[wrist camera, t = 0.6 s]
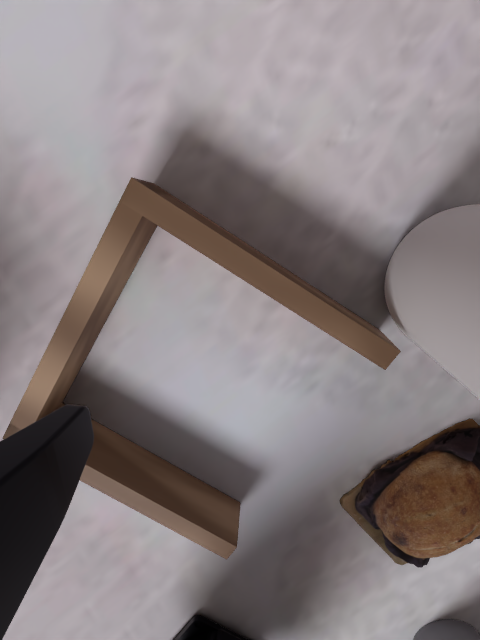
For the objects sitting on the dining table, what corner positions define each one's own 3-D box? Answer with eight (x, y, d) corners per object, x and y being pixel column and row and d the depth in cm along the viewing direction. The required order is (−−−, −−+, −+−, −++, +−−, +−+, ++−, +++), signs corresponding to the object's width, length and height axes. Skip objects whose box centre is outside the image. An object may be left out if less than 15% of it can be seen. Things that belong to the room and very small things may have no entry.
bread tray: (231, 514, 26) (226, 559, 22) (38, 407, 24) (2, 438, 21) (378, 329, 21) (400, 351, 18) (154, 183, 20) (131, 177, 16)
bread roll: (397, 561, 27) (417, 615, 23) (328, 487, 25) (339, 532, 22) (534, 489, 24) (580, 537, 21) (467, 402, 23) (505, 437, 19)
